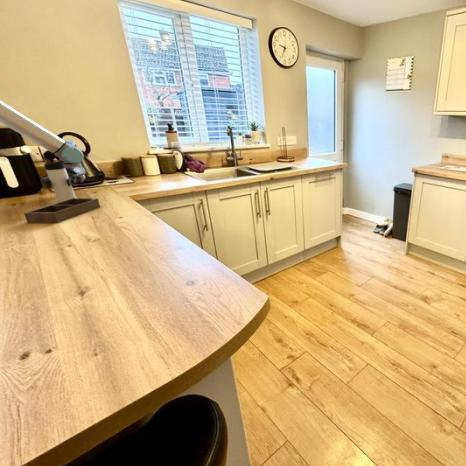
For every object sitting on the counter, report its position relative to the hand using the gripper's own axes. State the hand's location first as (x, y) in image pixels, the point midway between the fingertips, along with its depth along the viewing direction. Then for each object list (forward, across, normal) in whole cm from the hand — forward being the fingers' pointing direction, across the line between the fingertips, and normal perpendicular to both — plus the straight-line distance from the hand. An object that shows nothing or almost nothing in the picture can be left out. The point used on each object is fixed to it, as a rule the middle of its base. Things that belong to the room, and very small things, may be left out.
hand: (57, 183), depth 125 cm
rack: (+13, -2, -11) cm, 17 cm away
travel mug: (-5, 0, -11) cm, 12 cm away
